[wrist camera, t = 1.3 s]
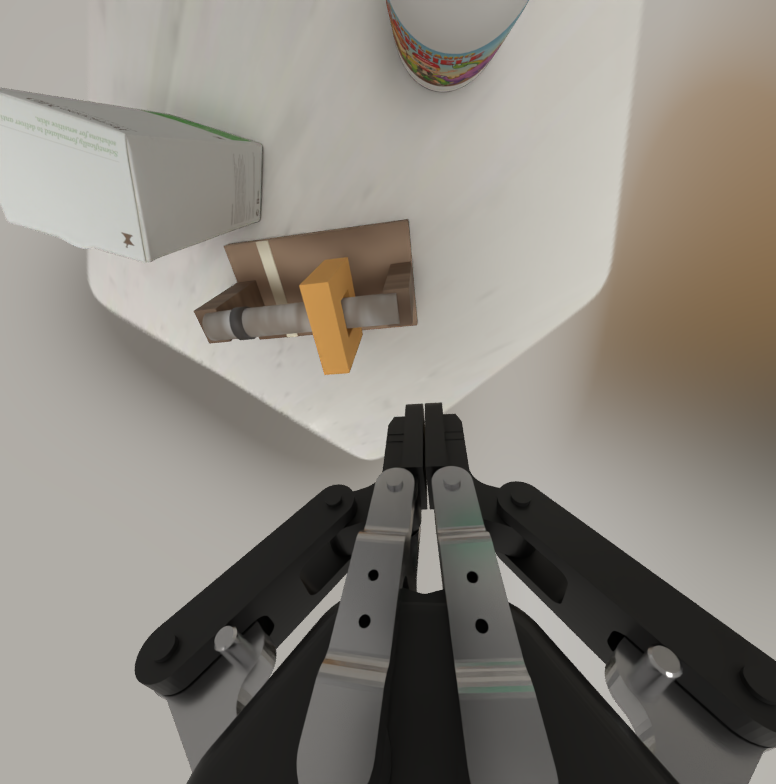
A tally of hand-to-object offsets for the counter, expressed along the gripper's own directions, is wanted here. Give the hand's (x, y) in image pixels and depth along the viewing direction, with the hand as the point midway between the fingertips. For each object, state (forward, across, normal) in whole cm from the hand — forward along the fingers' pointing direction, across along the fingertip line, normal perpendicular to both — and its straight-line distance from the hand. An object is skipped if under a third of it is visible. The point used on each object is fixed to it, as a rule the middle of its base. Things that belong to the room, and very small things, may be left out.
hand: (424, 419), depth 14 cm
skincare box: (+23, +18, -11) cm, 31 cm away
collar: (+17, +7, 0) cm, 19 cm away
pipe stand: (+23, +10, 0) cm, 25 cm away
